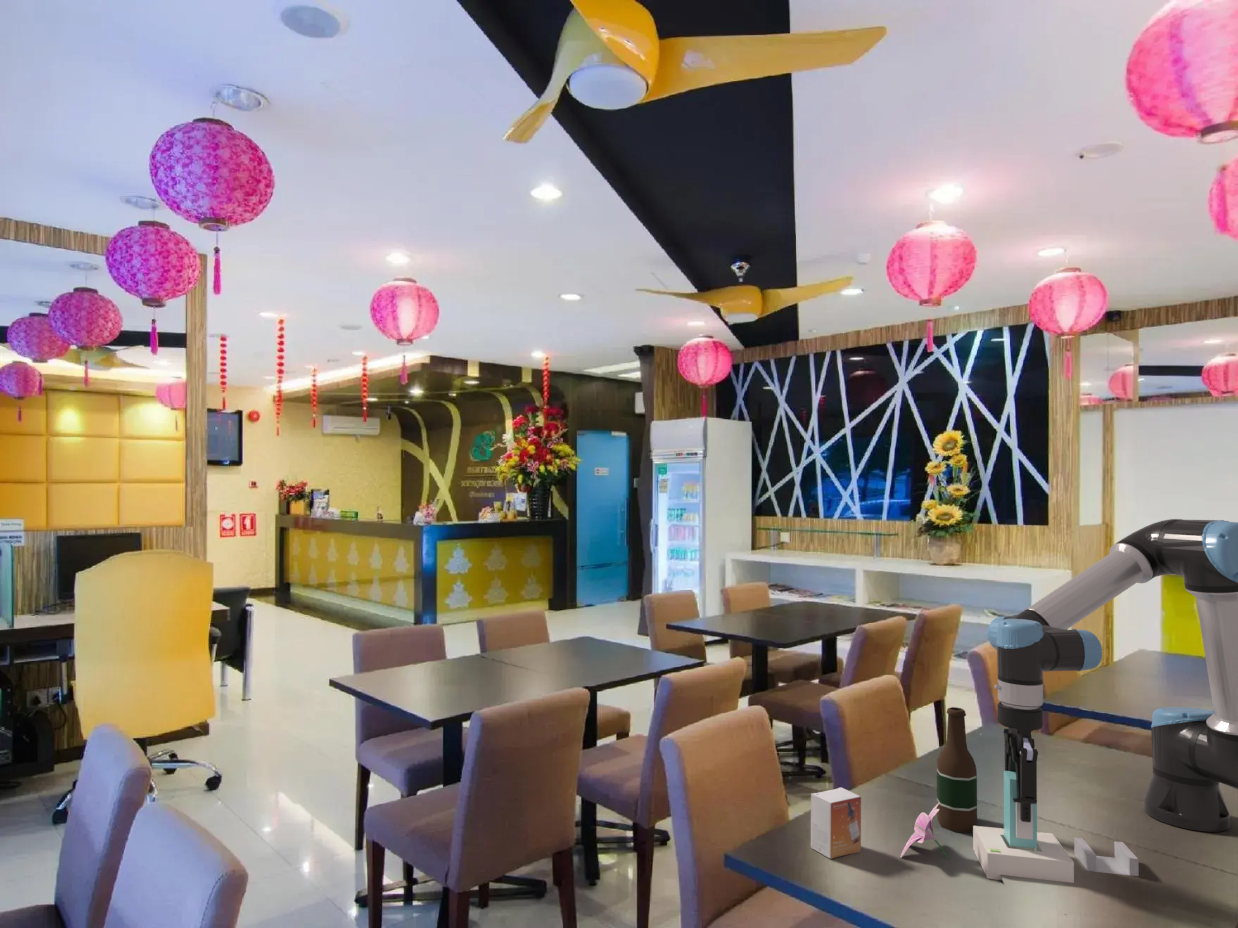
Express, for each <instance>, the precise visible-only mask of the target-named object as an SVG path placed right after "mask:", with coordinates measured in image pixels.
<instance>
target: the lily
mask: <svg viewBox="0 0 1238 928" xmlns="http://www.w3.org/2000/svg"><path fill="white" fill-rule="evenodd" d="M939 803H940V802H939ZM939 803H938V804H939ZM938 804H937V803H936V805H935V806H934V807H933V808H932V810H931V811H930V812H929V814H927V813H926V812H921V813H919V815H918V816H917V818H916V820H915V823H913V825H911V826H912V827H914V828H913V829H914V830H913V831H914V832H913V833H912V834H911V836H910V837H909V839H908V841H907V842H906V844H905V845H904V848H903V849H902V852H901V854H900V858H903V856H904V854H905V853H906V852H907V850H908V849H909V848H910V846H911V845H912V844H913V843H914V842H917V843H918V844H923V843H924V841H929V840H933V841H934V842H935V843H936V844H937V846H938V847H939V848H940V850H941V852H942V853H943V855H944V857H945V858H946V859H947V858H948V856H947V853H946V852H945V850H944V849H943V847H942V846H941V844H940V843H939V842H938V840H937V839H936V838H935V837H934V831H933V830H934V829H933V817H935V816H936V815H937V812H938V811H939V809H937V806H938Z"/></svg>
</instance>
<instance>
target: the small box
mask: <svg viewBox="0 0 1238 928" xmlns="http://www.w3.org/2000/svg"><path fill="white" fill-rule="evenodd" d="M861 831H862V797H861V796H860V795H858V794H856V793H854V792H852V791H850V790H848V789H845V788H843V787H842V786H841V787H838V788H833V789H829V790H824V791H820V792H814V793H813V792H812V793H811V794H810V848H811V849H812V850H813V851H816V852H818V853H820V855H822V856H825V857H826V858H828V859H834V858H838V857H842V856H846V855H851V854H857V853H860V852H861V849H862V843H861V842H862V841H861V840H862V838H861V837H862V832H861Z"/></svg>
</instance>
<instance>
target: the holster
mask: <svg viewBox="0 0 1238 928" xmlns="http://www.w3.org/2000/svg"><path fill="white" fill-rule="evenodd" d="M1073 838H1074V840H1073V841H1074V844H1073V845H1074V847H1073V849H1074V850H1073V851H1074V853H1073V854H1074V855H1075V857H1076V858H1077V859H1078V860H1079V862H1080V863H1081V865H1082V866H1083V867H1084V868H1085V870H1086V871H1087V872H1094V873H1104V874H1114V875H1122V876H1131V877H1139V876H1140V875H1139V871H1140V870H1139V858H1138V857H1137V856H1136V855H1135V854H1134V853H1133V851H1132V850H1130V848H1129V847H1128V846H1127V845H1126V844H1125V843H1124V842H1122V841H1114V842H1113V846H1114V853H1113V854H1114V856H1112V857H1111V856H1102V855H1097V854H1096V853H1095V852H1094V850H1093V849H1092V848H1091V847H1090V845H1089V844H1088V843H1087V842H1086V840H1084V838H1082V837H1075V836H1074V837H1073Z"/></svg>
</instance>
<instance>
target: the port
mask: <svg viewBox="0 0 1238 928" xmlns="http://www.w3.org/2000/svg"><path fill="white" fill-rule="evenodd" d="M972 837H973V838H972V845H973V846H972V848H973V852H974V853H975V855H976V858H977V860H978V862H979V864H980V866H981V869H982V870H983V873H984V874H985V876H986V879H989V880H996V881H997V880H998V881H1003V879H1002V876H1010V877H1019V878H1026V879H1035V880H1046V881H1054V882H1062V883H1070V884H1074V883H1075V862H1074V860H1073V859H1072V858H1071V856H1070V855H1069V854H1068V853H1067V851H1066V850H1065V848H1064V847H1063V846H1062V844H1061V843H1060V841H1058V839H1057V838H1056V836H1055V835H1054V834H1053V833H1050V832H1042V831H1041V832H1039V831H1037V849H1035V848H1026V847H1017V846H1010V845H1009V843H1008V842H1007V840H1006V838H1005V837H1004V828H1001V827H990V826H982V825H981V826H980V825H976V826H973V831H972Z"/></svg>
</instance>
